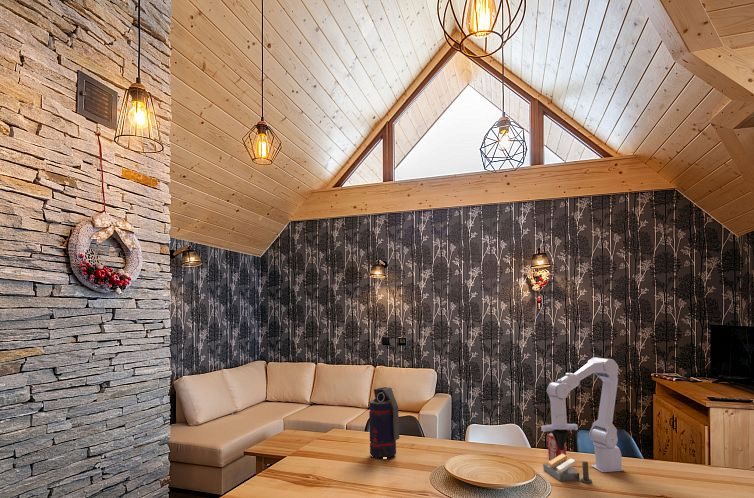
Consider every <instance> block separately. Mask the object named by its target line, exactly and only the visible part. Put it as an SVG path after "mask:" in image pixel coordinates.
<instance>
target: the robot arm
mask: <svg viewBox="0 0 754 498" xmlns="http://www.w3.org/2000/svg"><path fill="white" fill-rule="evenodd" d="M619 367H620V366H619V365H618V363H617V362H616V361H615V360H614V359H612V358H603V357H597V356H594V357H591V359H588V360H587V363H586V364H584V365H583V366H582V367H580V368H579V369H578V370H576V371H575V372H574V373H572V372H566V373H565V375H564V376H563V377H561V378H558V379H556V381H555V382H554V381H553V382H549V384H548V385H547V388H546V390H545V391H546V393H547V395H548V397H549V398H548V399H549V401H550V403H549V404H550V416H551V418H550V419H551V424H545V425H541V426H540V427H541V428H540V429H541V430H540V431H542V432H543V433H546V432H550V433H552V434H553V436H554V438H555V441H556V443H557V447H558V449H559V450H564V445H565V443H566V442H567V438H568V436H569V435H570V434H569V432H570V431H571V430H573V431H574V430H575V431H578V429H579V426H578V424H576V423H568V420H567V419H568V418H567V405H566V402H567V401H566V398H568V396H569V393H570V392H571V391H572V390H574V389H575V388H576V387H578V386H579V385H580V382H581V381H582V380H583V379H585V378H587V377H589V376H591V375H592V374H595V375H596V376H597V377H598V378H600V380H601V381H602V387H601V393H600V394H601V395H600V401H599V407H598V415H597V419H596V420H595V421H594V422H592V425H591V428H590V429H589V433H588V436H589V440H591V442H592V444H593V446H594V447H593V448H594V463H595V464H591V465H590V466H591V467H592V468H594V469H596V470H598V471H599V472H602V473H610V472H623V471H624V469H623V459H622V452H621V449H620V448H619V447H618V445H617V444H618V441H619V439H618V429H617V427H615V425H614V424H613V421H614V413H615V406H616V399H617V390H618V385H619V376H618V374H619Z"/></svg>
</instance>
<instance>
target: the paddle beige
mask: <svg viewBox="0 0 754 498" xmlns="http://www.w3.org/2000/svg"><path fill="white" fill-rule="evenodd" d="M576 464H577V462H576V460H575V459H573V458H569V459H566V462H564V463H562V464H561V465H559V466H558V467H556V468H557V470H558V471H560V472H563V471H565V470H566V469H570V468H571V467H573V466H574V465H576Z"/></svg>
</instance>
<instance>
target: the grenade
mask: <svg viewBox="0 0 754 498" xmlns="http://www.w3.org/2000/svg"><path fill="white" fill-rule="evenodd" d="M373 394H374V399H371V400H370V401H369V402H368V406H369V408H368V409H369V410H368V411H369V442H370V443H369V454H370V456H371V455H372V456H373V457H374V456H375V458H379V457H388V458H391V457H393V455H395V456H396V454H397V440H399V439H400V418H399V405H398V403H397V400H396V397H395V395H394V392H393V388H392V387H387V386H384V387H378V388H375V389H373ZM390 456H391V457H390Z"/></svg>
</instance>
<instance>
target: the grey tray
mask: <svg viewBox="0 0 754 498" xmlns="http://www.w3.org/2000/svg"><path fill="white" fill-rule="evenodd" d="M561 464H562V463H561ZM561 464H560V463H559V464H557V465H555V466H554V467H552V466H551V465H549V463H548V462H547V463H542V467H543V471H544V472H545V473H547V474H548V475H550V476H551V477H553V478H554V479H556V480H558V481H559V482H570V481H571V482H572V481H581V480H580V479H581V478H580V472H578V471H576V470H575V469H573V468H571V467H570V469H566V470H565V471H563V472H560V471H558V470H557V468H556V467H558V466H559V465H561Z"/></svg>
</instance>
